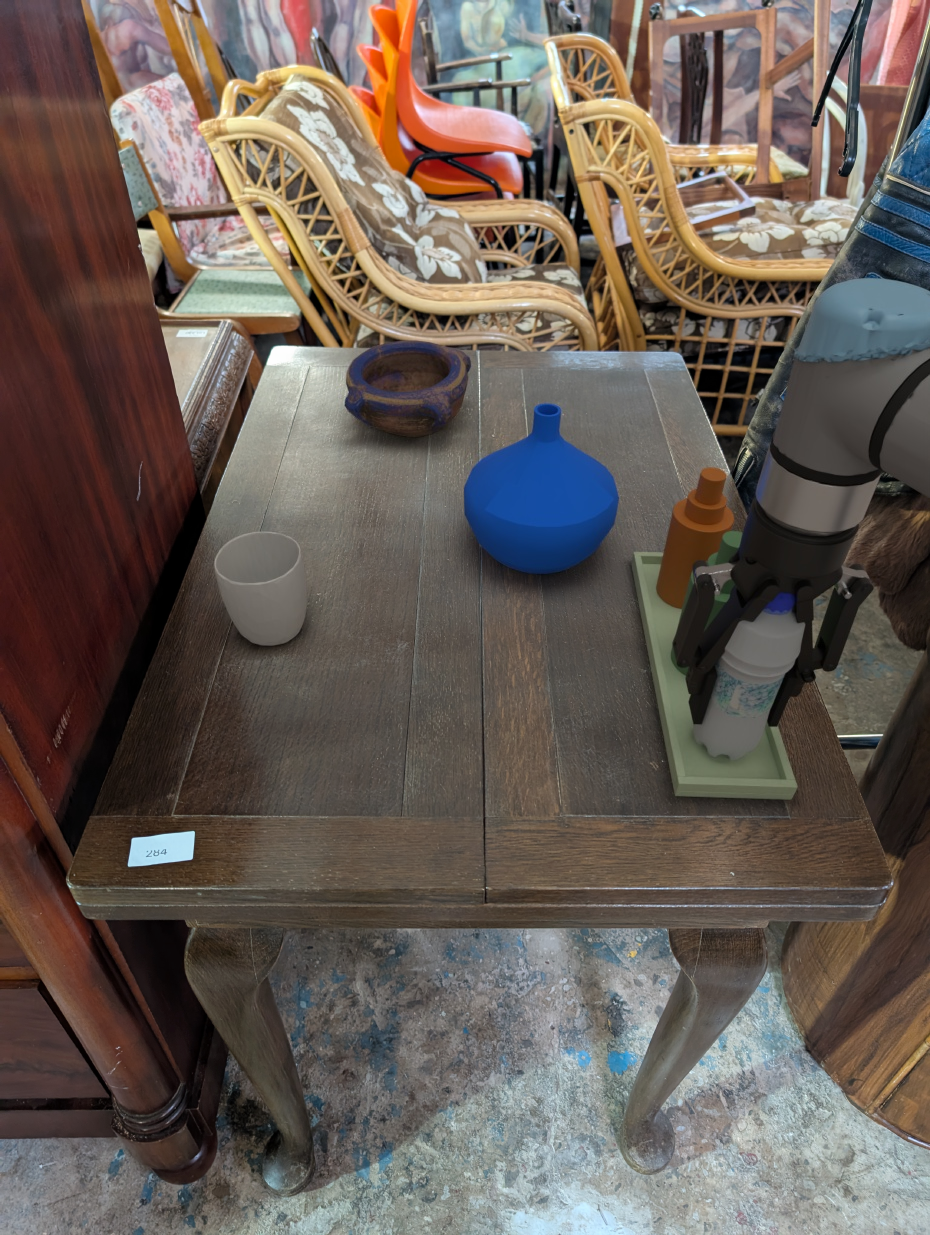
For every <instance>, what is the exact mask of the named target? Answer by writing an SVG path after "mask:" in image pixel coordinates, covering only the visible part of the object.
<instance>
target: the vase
mask: <svg viewBox="0 0 930 1235" xmlns="http://www.w3.org/2000/svg"><path fill="white" fill-rule="evenodd" d="M561 416H562V408H561V407H560V406H559V405H558V404H555V403H547V402H546V403H545V402H544V403H540V404H537V405H535V406H534V408H533V419H532V420H533V422H532V430H531V433H529V434H528V435H527V436H526V437H524V438H523V439H521V440H518V441H516V442H514V443H512V444H510V445H507V446H505V447H503V448H500V449H498V450H496V451H493V452H492V453H490V454H488V455H486V456H484V457H482V458H481V459H480V460H479V461H478V462H477V463H475V465H474V466H472V468H471V471H470V472H469V475H468V477H467V480H466V481H465V484H464V486H463V511H464V512H463V513H464V516H465V518H466V521H467V523H468V525H469V527H470V529H471V530H472V533H473V535H474V537H475V539H476V541H477V543H478V545H480V547H481V548H482V549H483V550H485V551H486V552H487V553H488V555H490V556H491V557H492V558H493V559H494V560H495V561H497V562H498V563H500V564H502V565H504V566H505V567H507V568H509V569H512V570H516V571H518V572H522V573H526V574H533V575H549V574H553V573H558V572H563V571H566V570H568V569H571V568H574V567H575V566H577V565H578V564H581V563H582V562H583V561H584V560H586V559H587V558H588V557H590V556H591V555H593V554H594V553H596V551H597V550H598V548H599V547H600V546H601V544H602V543H603V541H604V540H605V539H606V537H607V536H608V534H609V533H610V532H611V530H612V528H613V527H614V526H615V522H616V518H617V512H618V506H619V502H620V497H619V492H618V488H617V485H616V480H615V478H614V475H613V474H612V473H611V471H609V469H608V468H607V467H606V466H605V465H604V464H603V463H601V462H600V461H598V460H597V459H596V458H594V457H593V456H591V455H589V454H588V453H585V451H582V450H581V449H578V448H577V447H576V446H575V445H573V444H571V443H570V442H568V441H567V440H565V438H563V436H562V435H561V431H560V429H561V427H560V426H561V418H562V417H561Z"/></svg>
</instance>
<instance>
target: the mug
mask: <svg viewBox="0 0 930 1235" xmlns="http://www.w3.org/2000/svg"><path fill="white" fill-rule="evenodd" d="M213 562H214V563H213V566H214V567H213V568H214V573H215V577H216V582H217V586H218V590H219V593H220V596H221V600H222V601H223V604H224V606H225V609H226V611H227V613H228V616H229V619H230V620H231V622H232V623H233V624H234V627H235V628H236V629H237V631H238V632H239V634H240V635H241V636H242V637H244V638H245V639H246V640H248V641H249V642H251V644H256V645H258V646H269V647H271V646H272V647H273V646H279V645H282V644H283V645H284V644H285V643H288V642H290V640H293V638H295V637H296V636H297V635H298V634H299V633H300V631H301V630H302V627H303V626H304V622H305V619H306V613H307V606H308V588H307V586H308V585H307V584H308V583H307V572H306V567H305V562H304V556H303V552H302V548H301V547H300V545H299V543H298V542H297V540H295V539H294V538H293V537H291V536H290V535H287V534H283V533H280V532H277V531H253V532H247V533H243V534H240V535H239V536H236V537H233V538H232V539H230V540H229V541H228V542H226V543H225V544H224V545H222V547H221V548H220V549H219V550H218V552H217V554H216V556H215V558H214V561H213Z"/></svg>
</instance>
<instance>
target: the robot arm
mask: <svg viewBox="0 0 930 1235" xmlns="http://www.w3.org/2000/svg"><path fill="white" fill-rule="evenodd" d="M813 304H814V305H813V307H812V310H811V312H810V316H809V318H808V321H807V323H806V327H805V330H804V332H803V335H802V337H801V340H800V343H799V346H797V347H796V349H795V351H794V353H793V358H794V359H793V362H792V366H791V370H790V373H789V378H788V382H787V385H786V390H785V394H784V397H783V402H782V405H781V409H780V413H779V416H778V420H777V424H776V427H775V430H774V431H773V433H772V437H771V440H770V443H769V445H768V449H767V452H766V455H765V458H764V461H763V465H762V468H761V471H760V475H759V478H758V482H757V484H756V490H755V496H754V497H753V498H752V501H751V504H750V506H749V510H748V513H747V517H746V520H745V524H744V526H743V530H742V537H741V542H740V546H739V548H738V550H737V551H736V552H735V553H734V554H733V555H732V556H731V558H730V559H729V561H728V563H725V564H719V565H714V566H708V564H707V562H706V561H704V560H699V561H696V562H695V563H694V564H693V566H692V569H693V578H694V584H693V587H692V590H691V593H690V596H689V598H688V601H687V604H686V607H685V609H684V612H683V615H682V618H681V620H680V623H679V626H678V629H677V632H676V634H675V637H674V640H673V643H672V645H673V650H674V654H675V659H676V663H677V666H678V667H680V668H686V667H688V666H689V667H688V671H687V675H686V678H685V680H686V684H687V689H688V692H689V694H691V695H690V698H689V701H688V703H689V707H690V711H691V716H692V720H693V724H699V725H702V722H703V719H704V716H705V713H706V710H707V707H708V704H709V701H710V698H711V695H712V692H713V688H714V685H715V682H716V679H717V672H716V668H715V664H716V662H717V661H718V660H719V659H720V657H721V656H722V655H723V654H724V652H725V647H726V645H727V644H728V642H729V640H730V638H731V636H732V634H733V633H734V631H735V629H736V627H737V625H738V623H739V622H740V621H743V620H745V621H749V622H754V621H755V619H756V618H757V617H758V616H759V614H760V613H761V612H762V611H763V609H764V608H765V607H766V606H767V605H768V603H769V602H772V601H773V600H774V599H775V598H776V596H777V595H778V594H779V593H790V594H793V595H794V596H795V603H794V606H793V607H792V611H791V612H794V613H795V617H796V620H797V623H803V622H804V623H805V629H804V633H803V637H802V642H801V649H800V653H799V655H798V657H797V658H796V659H795V663H794V665H793V667H792V668H791V669H790V670H789V671H788V672H786V673H785V675H784V678H783V680H782V683H781V685H780V688H779V690H778V693H777V695H776V697H775V700H774V702H773V705H772V707H771V709H770V712H769V715H768V719H767V723H768V726H769V727H777V726H778V727H779V723H780V721H781V720H782V716H783V714H784V712H785V710H786V708H787V705H788V702H789V700H790V698H797V697H798V696H799V695H800V694H801V693H802V691H803V688H804V686H805V684H810V683H813V682H815V680H816V679H817V676H816V673H815V671H817V670H822V671H824V672H826V673H830V672H833V671H835V670H836V669H837V668H838V665H839V663H840V660H841V659H842V658H841V657H842V654H843V652H844V649H845V646H846V643H847V640H848V638H849V636H850V633H851V630H852V628H853V625H854V622H855V619H856V618H857V617H856V616H857V614H858V611H859V608H860V607H861V605H862V604H863V603H864V602H865V601H866V599H868V597H869V596H870V594H872V592H873V591H874V589H875V587H874V584H873V583H872V581H871V578H870V577H869V575H868V572H867V571H866V569H865V567H864V566H863V565H862V564H861V563H854V564H851V565H850V566H849V567H847V566H844V563H845V562H846V560H847V557H848V555H849V552H850V550H851V548H852V545H853V544H854V543H853V542H854V540H855V538H856V536H857V534H858V531H859V526H860V523H861V522H862V521H863V520H864V518H865V516H866V513H867V510H868V508H869V505H870V504H871V500H872V498H873V496H874V493H875V491H876V488H877V486H878V483H879V482H880V478H881V475H882V473H884V474H887V475H890V476H891V477H892V478H895V479H896V480H898V481H900V482H901V483H903V484H905V485H906V486H908V487H910V488H911V489H913V490H915V491H917V492H918V493H920V494H922V495H923V496H925V497H926V498H928V499H930V290H928V289H926V288H923V287H921V286H918V285H916V284H911V283H907V282H905V281H900V280H895V279H889V278H875V277H865V278H863V277H862V278H853V279H848V280H846V281H842V282H837V283H834V284H833V285H831V286H830V287H829V286H828V288H826V289H825V290H823V291H822V292H821V293H820V295H819V296H818V297H817V299H816V300H815V302H814V303H813ZM728 580H732V581H733V582H734V584H735V585H734V587H733V588H732V590H731V592H730V597H729V599H728V601H727V602H726V603H725V605H724V606H723V607H722V609H721V610H720V611H719V613H718V614H717V615H716V617H715V618H714V619H713V621H712V622H711V623H710V625H709V626H708V627H707V629H706V630H705V631H704V629H705V627H706V624H707V622H708V619H709V617H710V614H711V611H712V609H713V606H714V601H715V596H718V595H720V594H721V590H722V588H723V585H724V583H725V582H726V581H728ZM832 587H833V589H832V592H831V595H830V598H829V601H828V605H827V607H826V610H825V613H824V616H823V620H822V623H821V626H820V629H819V632H818V634H817V638H816V641H815V643H814V638H813V636H814V634H813V633H814V632H813V621H814V620H815V616H814V615H815V614H814V611H815V610H814V609H815V608H814V600H815V599H817V598H818V597H820V596H821V595H822V594H824V593H825V592H827V591H828V590H830V589H831V588H832ZM703 632H704V633H703Z"/></svg>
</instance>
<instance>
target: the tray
mask: <svg viewBox="0 0 930 1235" xmlns="http://www.w3.org/2000/svg"><path fill="white" fill-rule="evenodd" d="M663 553H664V551H661V552H660V551H659V552H658V551H657V552H656V551H633V553H632V559H631V564H630V566H631V570H632V575H633V576H632V577H633V581H634V587H635V592H636V597H637V602H638V608H639V613H640V618H641V624H642V630H643V633H644V640H645V644H646V650H647V655H648V659H649V660H648V661H649V666H650V670H651V671H650V672H651V676H652V681H653V687H654V692H655V697H656V704H657V707H658V714H659V718H660V725H661V730H662V735H663V741H664V747H665V751H666V758H667V761H668V767H669V772H670V778H671V783H672V789H673V794H674V796H675V797H692V798H696V797H697V798H721V799H724V798H725V799H727V798H728V799H757V800H759V799H760V800H788V801H791V800H793V798H794V795H795V793H796V792H797V790H798V784H797V780H796V778H795V775H794V772H793V769H792V765H791V762H790V760H789V756H788V753H787V750H786V747H785V744H784V741H783V738H782V735H781V731H780V728H779V725H778V726H777V727H769V726H768V723H767V722H766V726H765V729H764V732H763V735H762V737H761V740H760V742H759V744H758V745H757V747H756V748H755V749H754V750H753V751H751V752H750V753H746V754H745V755H744V756H742V757H741V758H740V759H738V760H730V759H729V758H728V755H724V754H720V755H718V756H717V757H713V756H711V755H709V754H708V751H707V748H706V746H705V745H704V744H702V745H700V744H698V743H697V742H696V740H695V738H694V733H693V720H692V716H691V711H690V707H689V703H688V701H689V698H690V695H691V694H689V692H688V689H687V684H686V680H685V678H686V676H685V675H684V674H682V673H681V672H680V671H678V670H677V668H676V667H675V666H674V664H673V663H672V660H671V650H672V646H673V645H672V643H673V640H674V637H675V634H676V631H677V627H678V623H679V619H680V615H681V611H682V609H679V608H676V607H673V606H671V605H669V604H667V603H665V602H664V601H663V600H662V599H661V598H660V597H659V595H658V594H657V591H656V585H657V580H658V576H659V571H660V567H661V562H662V558H663Z"/></svg>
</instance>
